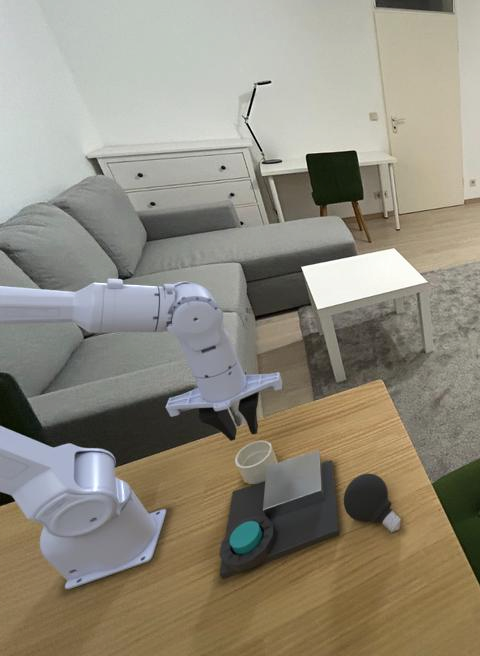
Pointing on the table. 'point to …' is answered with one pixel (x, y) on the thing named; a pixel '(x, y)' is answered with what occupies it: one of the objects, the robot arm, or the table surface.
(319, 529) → the scale
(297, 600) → the table surface
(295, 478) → the plate
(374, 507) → the light bulb
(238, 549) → the tare button
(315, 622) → the table surface
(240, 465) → the bowl
